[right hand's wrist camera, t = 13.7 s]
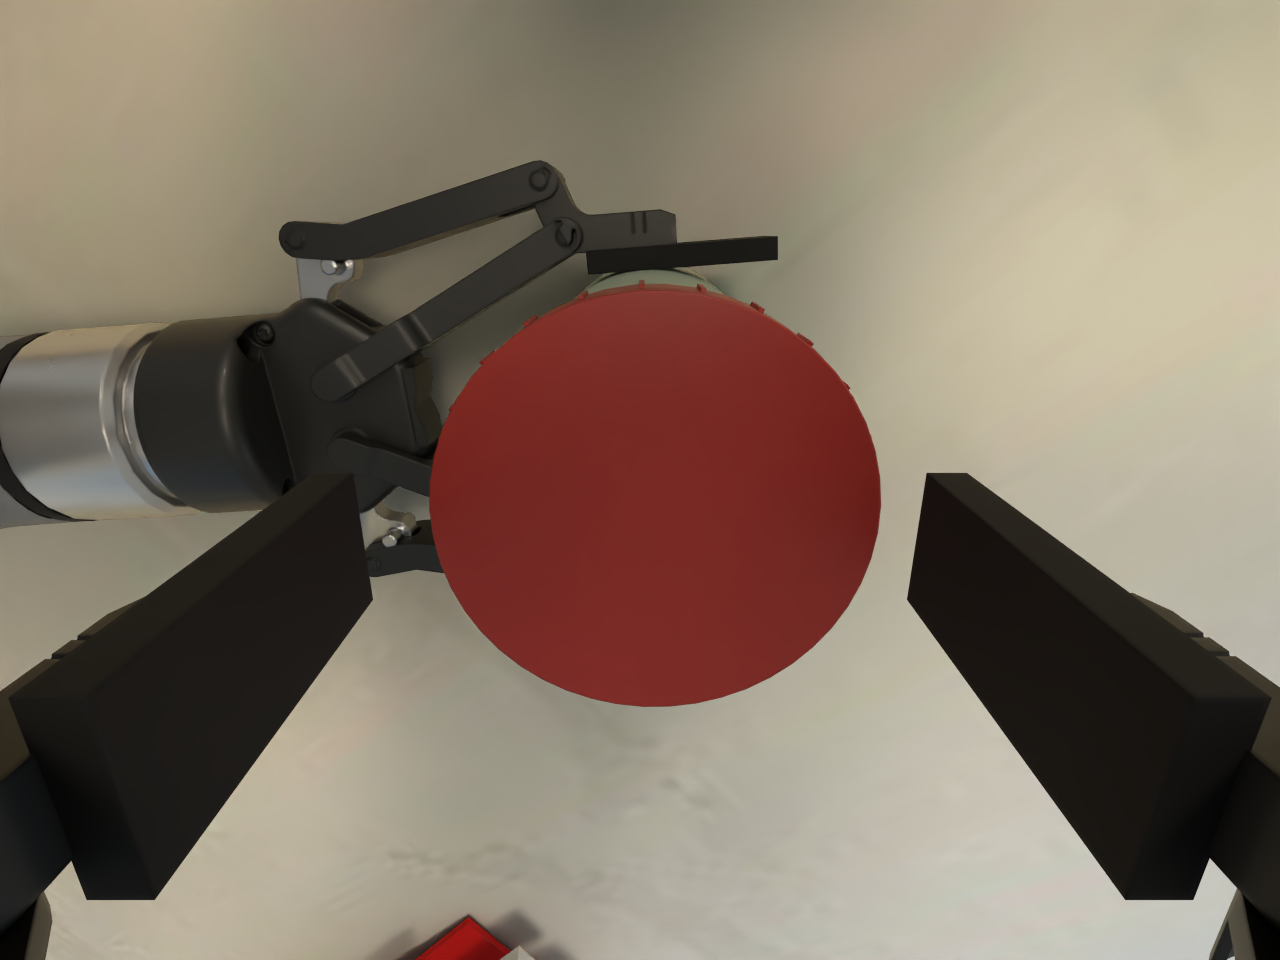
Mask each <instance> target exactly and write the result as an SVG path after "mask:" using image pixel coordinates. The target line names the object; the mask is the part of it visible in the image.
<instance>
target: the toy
mask: <svg viewBox="0 0 1280 960" xmlns="http://www.w3.org/2000/svg"><path fill="white" fill-rule="evenodd" d="M415 960H535V959H534V958H533V957H532V956H531V955H529V954H528V953H527V952H526V951H525V950H524V949H522V948H521V947H520V946H518V947H517V948H515V949H514V950H512V951H510V950H509V949H508V948H506V947H505V946H504V945H503V944H501V943H500V942H499V941H498V940H496V939H495V938H494V937H493V936H491V935H490V934H489V933H488V932H486V931H485V930H484V929H483V928H481V927H480V926H479V925H478V924H476V923H475V922H474V921H473V920H472V919H470V918H469V917H468V918H466V919H465V920H464V921H463V922H461V923H460V924H459V925H458V926H457V927H455V928H454V929H453V930H452V931H450V932H449V933H448V934H447V935H445V936H444V937H443V938H442V939H440V940H439V941H438V942H437V943H435V944H434V945H433V946H432V947H430V948H429V949H428V950H427V951H425V952H424V953H423V954H422V955H420V956H419V957H418V958H417V959H415Z"/></svg>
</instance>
